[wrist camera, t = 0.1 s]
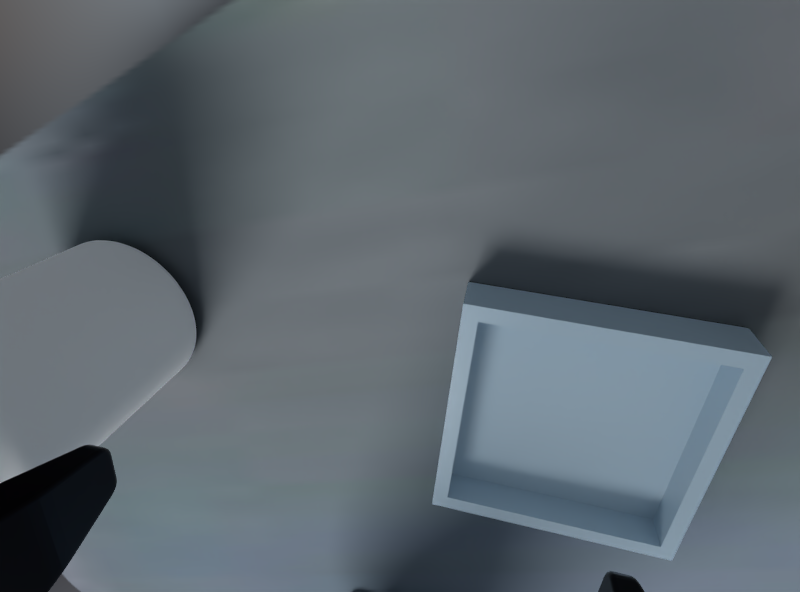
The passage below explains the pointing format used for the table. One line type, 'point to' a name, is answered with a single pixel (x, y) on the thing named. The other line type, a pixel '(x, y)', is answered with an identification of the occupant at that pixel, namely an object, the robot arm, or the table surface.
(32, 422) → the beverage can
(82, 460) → the robot arm
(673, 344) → the tray
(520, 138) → the table surface
